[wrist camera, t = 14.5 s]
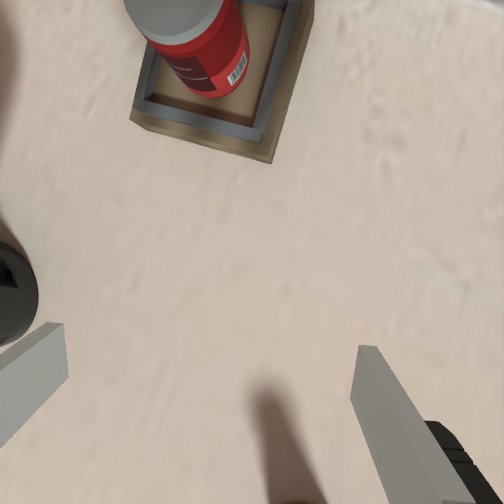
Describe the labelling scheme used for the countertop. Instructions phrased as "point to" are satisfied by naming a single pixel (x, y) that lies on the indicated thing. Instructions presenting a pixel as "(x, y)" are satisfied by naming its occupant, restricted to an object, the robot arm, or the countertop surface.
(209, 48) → the canned food
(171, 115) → the square wooden tray
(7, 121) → the countertop surface
